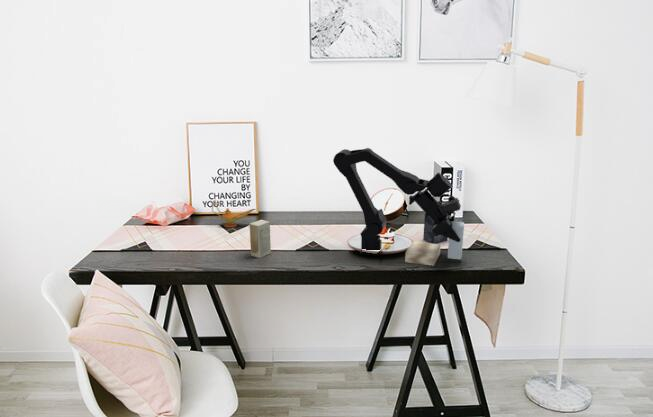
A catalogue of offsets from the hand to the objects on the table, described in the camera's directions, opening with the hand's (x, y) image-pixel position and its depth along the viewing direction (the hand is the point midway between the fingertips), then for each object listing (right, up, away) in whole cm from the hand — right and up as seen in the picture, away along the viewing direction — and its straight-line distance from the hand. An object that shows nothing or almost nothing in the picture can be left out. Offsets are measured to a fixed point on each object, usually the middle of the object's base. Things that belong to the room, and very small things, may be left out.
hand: (460, 239), depth 213 cm
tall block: (-1, -6, +2) cm, 7 cm away
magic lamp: (-84, +3, +40) cm, 93 cm away
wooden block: (-12, -7, +6) cm, 15 cm away
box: (-4, -2, +24) cm, 24 cm away
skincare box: (-70, -6, +8) cm, 70 cm away
